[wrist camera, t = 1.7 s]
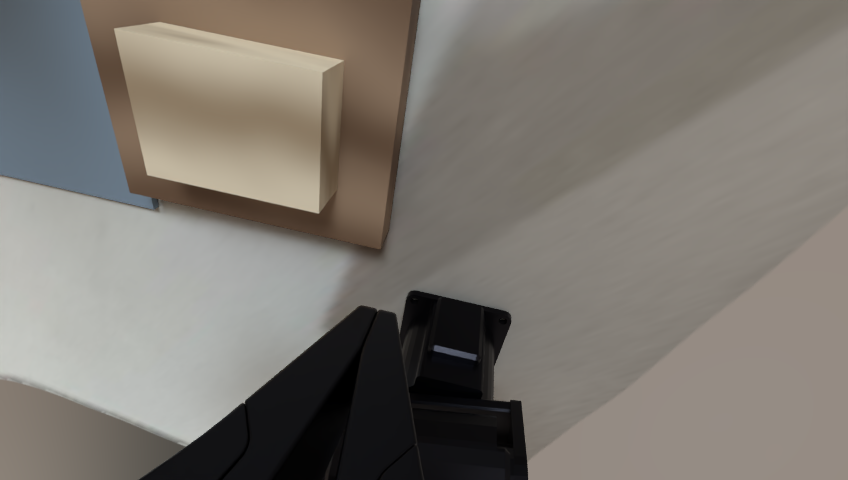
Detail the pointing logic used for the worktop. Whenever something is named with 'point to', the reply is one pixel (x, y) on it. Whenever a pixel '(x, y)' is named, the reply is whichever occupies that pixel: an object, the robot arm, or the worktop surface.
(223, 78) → the beech tile
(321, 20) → the walnut board
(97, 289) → the worktop surface
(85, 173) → the rubber mat
